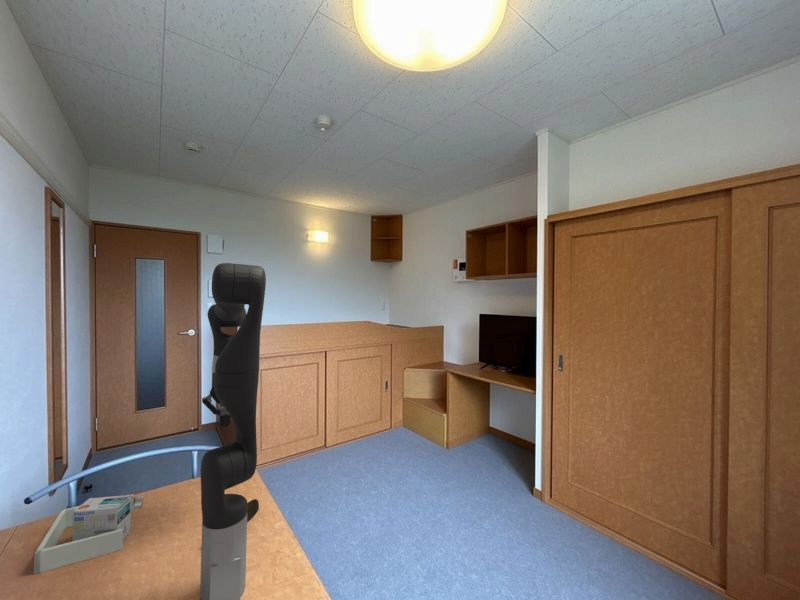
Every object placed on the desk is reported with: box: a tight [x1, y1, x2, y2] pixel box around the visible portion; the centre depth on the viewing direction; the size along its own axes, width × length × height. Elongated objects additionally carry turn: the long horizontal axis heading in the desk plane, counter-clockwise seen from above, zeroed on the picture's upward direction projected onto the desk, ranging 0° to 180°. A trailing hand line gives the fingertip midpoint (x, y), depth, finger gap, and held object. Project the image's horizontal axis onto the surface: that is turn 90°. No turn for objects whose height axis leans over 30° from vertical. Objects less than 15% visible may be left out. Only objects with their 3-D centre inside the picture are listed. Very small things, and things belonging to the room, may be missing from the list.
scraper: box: [133, 495, 145, 510], centre depth 107 cm, size 6×14×2 cm, turn 122°
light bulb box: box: [71, 494, 132, 542], centre depth 93 cm, size 11×7×11 cm, turn 102°
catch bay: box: [33, 494, 135, 575], centre depth 94 cm, size 20×16×5 cm
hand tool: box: [247, 498, 260, 523], centre depth 99 cm, size 19×4×5 cm, turn 160°
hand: (224, 426), depth 102 cm, fingers closed
